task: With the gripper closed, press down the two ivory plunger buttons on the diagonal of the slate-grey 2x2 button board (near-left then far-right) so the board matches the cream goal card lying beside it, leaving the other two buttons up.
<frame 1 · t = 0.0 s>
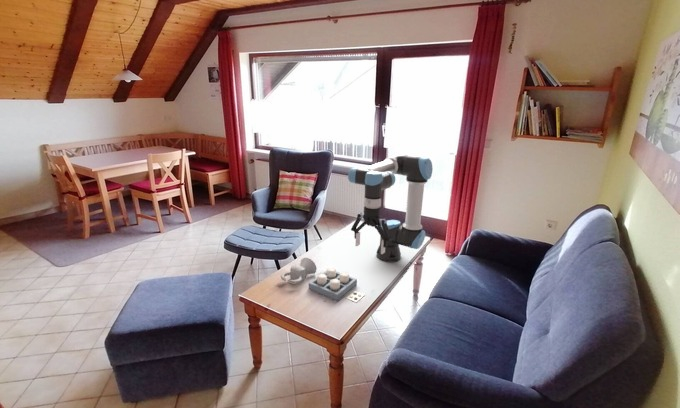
hand: (369, 249, 159), 28 cm above the table, fingers open, 13 cm apart
button c: (344, 278, 178), point 5 cm above the table, slide at 0.0 cm
button board: (332, 287, 178), on the table
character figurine: (299, 279, 186), on the table
button b: (321, 279, 176), point 5 cm above the table, slide at 0.0 cm
button d: (331, 273, 182), point 5 cm above the table, slide at 0.0 cm
goal card: (355, 296, 171), on the table
button a: (334, 285, 171), point 5 cm above the table, slide at 0.0 cm
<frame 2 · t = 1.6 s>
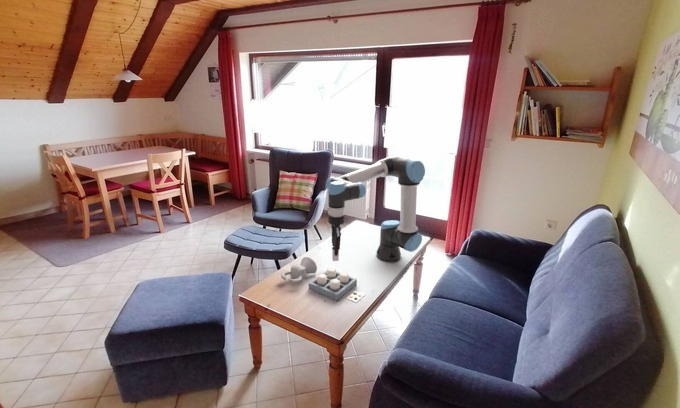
hand: (335, 259, 167), 19 cm above the table, fingers closed
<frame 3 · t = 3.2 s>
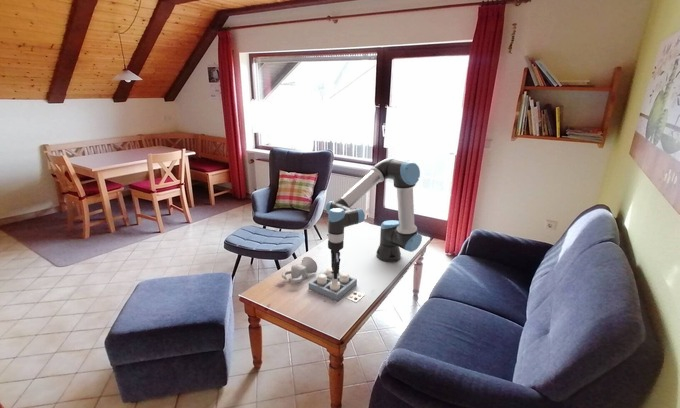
hand: (334, 283, 171), 6 cm above the table, fingers closed
button a: (334, 286, 172), point 4 cm above the table, slide at 1.0 cm, touching gripper
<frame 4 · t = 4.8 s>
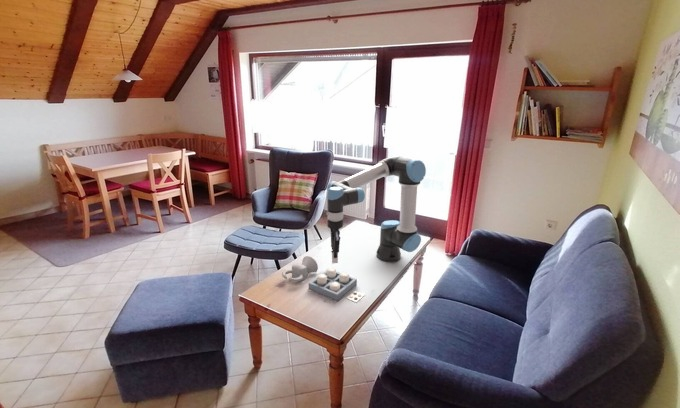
hand: (334, 262, 171), 16 cm above the table, fingers closed
button a: (334, 288, 172), point 3 cm above the table, slide at 1.9 cm
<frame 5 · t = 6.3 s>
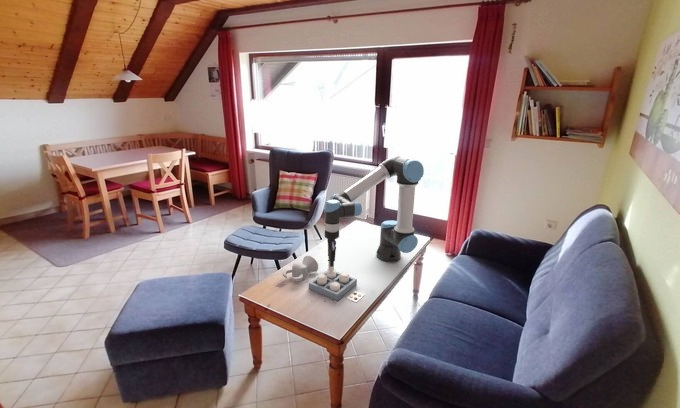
hand: (331, 270, 182), 7 cm above the table, fingers closed
button d: (331, 274, 182), point 5 cm above the table, slide at 0.6 cm, touching gripper
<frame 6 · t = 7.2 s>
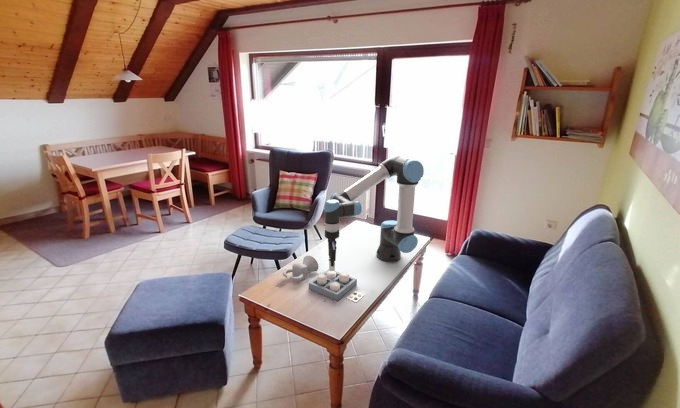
hand: (332, 270, 182), 7 cm above the table, fingers closed
button d: (331, 276, 183), point 3 cm above the table, slide at 1.9 cm
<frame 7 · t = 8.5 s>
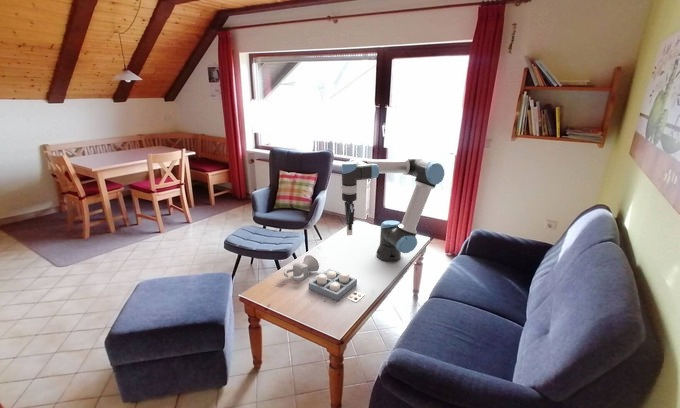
hand: (349, 234, 181), 25 cm above the table, fingers closed
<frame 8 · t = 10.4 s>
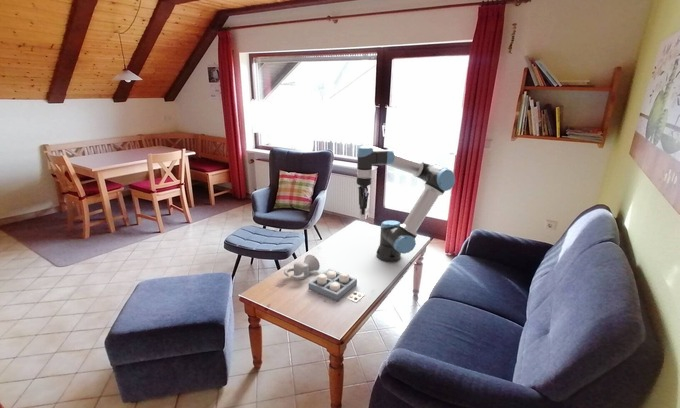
hand: (362, 219, 184), 32 cm above the table, fingers closed
at the end: button a slide at 1.9 cm; button d slide at 1.9 cm; button b slide at 0.0 cm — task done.
